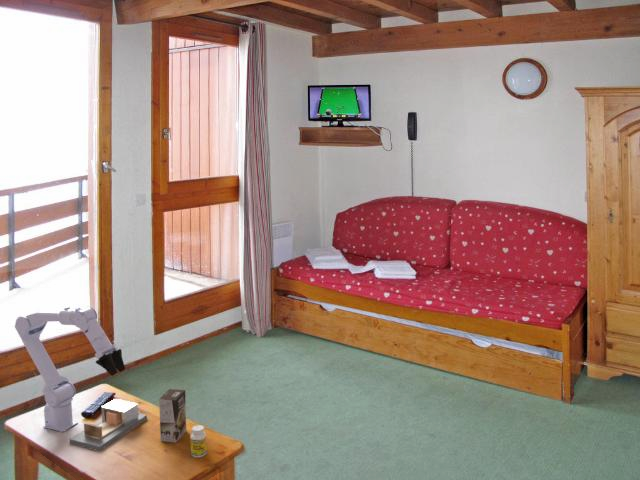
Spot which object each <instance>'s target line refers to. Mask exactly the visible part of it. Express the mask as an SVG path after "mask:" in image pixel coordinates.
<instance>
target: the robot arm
mask: <svg viewBox="0 0 640 480" xmlns="http://www.w3.org/2000/svg"><path fill="white" fill-rule="evenodd" d="M48 322H59V323H60V324H61V325H63V326H75V327H76V328H78V329H80V331H81V332H82V333H83V334H84V335H85V336H86V338H87V340H88V341H89V343H90V345H91V346H92V348H93V350H94V351H95V354H94V357H96V359H97V360H96V361H95V363H96V364H97V365H99V366H100V367H101V368H103V369H104V370H105V371H106V372H107V373H109V374H110V376H112V377H113V376H115V375H116V374H118V372H119V373H122V372H124V371H125V370H126V365H125V362H124V360H123V355H122V354H123V353H122V349H121V348H119V349H117V347H116V346H117V343H114V344H112V342H111V341H110V339H109V337H108V336H107V334H106V332H105V331H104V329H103V327H102V326H101V324H100V322H99V321H98V314H97V311H96V309H94V307H91V306H87V307H84V308H83V309H82V308H81V307H76V308H71V307H70V306H65V307H64V308H62V309H60V310H59V311H57V310H56V311H55V310H48V309H37V310H35V311H33V312H30V313H27V314H24V315H21V316H18V317H17V318H16V320H15V325H14V328H15V331H16V332H17V334H18V335H19V337H20V339H21V341H22V343H23V345H24V348H26V351H27V352H28V354H29V357H30V358H31V360H32V361H33V363H34V365H35V367H36V368H37V370H38V372H39V374H40V376H41V377H42V380H43V382H44V383H45V384H44V386H43V388H42V394H43V396H44V400H45V403H46V404H45V405H44V408H43V416H44V417H43V418H44V425H43V426H42V427H43V428H45V429H50V430H53V431H58V432H61V433H64V432H65V431H67V430H69V429H71V428H72V427H74V426H75V425H77V424H78V423H79V421H76V420H73V419H74V418H73V406H72V404H73V403H72V401H74V399H73V398H74V397H75V396H76V387H75V386H74V384H73V383H72V382H71V381H70V380H69V378H68V377H67V376H64V375H61V374H60V373H59V371H58V370H57V368H56V366H55V364H54V362H53V361H52V359H51V357H50V355H49V353H48V352H47V350H46V348H45V347H44V346H45V345H44V344H43V343H42V341H41V339H40V337H41V334H42V333H43V331H44V329H45V327H46V326H47V324H48Z"/></svg>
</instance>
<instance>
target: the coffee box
mask: <svg viewBox="0 0 640 480" xmlns="http://www.w3.org/2000/svg"><path fill="white" fill-rule="evenodd" d="M158 404H159V428H160V429H159V431H160V433H159V435H160V437H159V438H160V442H167V443H178V441H180V439H181V438H182V437H183V436H184V435H185V434H186V432H187V408H186V404H187V403H186V390H185V389H174V388H172V389H171V388H169V389H167V391H165V393H164V394H162V395H161V397H160V398H159V403H158Z"/></svg>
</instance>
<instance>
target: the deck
mask: <svg viewBox="0 0 640 480" xmlns="http://www.w3.org/2000/svg"><path fill="white" fill-rule="evenodd" d="M147 419H148V415H147V414H143V413H141V412H140V413H139V412H138V419H136V420H135V421H133V422H132V423H130V424H129V425H127V426H126V427H123V426H120V427H119V428H117V429H116V430H114V431H113V432H111V433H110V434H108V435H106V436H105V437H103V438H102V439H96V438H92V437H88V436H84V434H85V433H84V430H82V431H81V432H78V433H77V434H76V435H74V436H73V437H71V438H69V444H70V445H71V444H72V445H75V446H79V447H82V448H87V449H90V450H95V451H98V452H101V451H102V450H103V449H105V448H106V447H108V446H109V445H111V444H112V443H114V442H115V441H117V440H118V439H119V438H121V437H122V436H124V435H126V434H127V433H128V432H130V431H132V430H133V429H134V428H136V427H138V426H139V425H140V424H142V423H144V422H145V421H146V420H147ZM102 423H103V422H102V419H100V420H98V421H97V422H95V423H94V425H100V424H102Z"/></svg>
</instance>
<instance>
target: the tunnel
mask: <svg viewBox="0 0 640 480" xmlns="http://www.w3.org/2000/svg"><path fill="white" fill-rule="evenodd" d="M138 408H139V407H138V403H136V402H130V401H127V400H122V399H118V398H113V400H111V401H109V402H107V403H105V404H104V405H101V420H102V422H105V421H106V412H108V411H115V412H119V413H122V426H123V427H126V426H127V425H129V424H130V423H132V422H133V421H135V420H136V419H138V413H139V409H138Z"/></svg>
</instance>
